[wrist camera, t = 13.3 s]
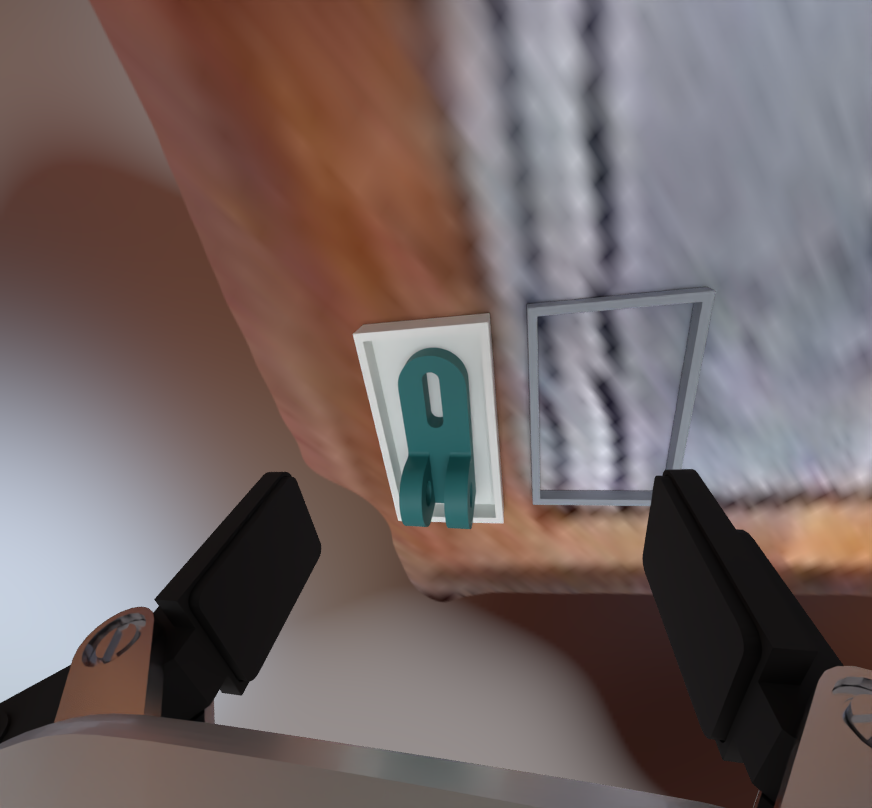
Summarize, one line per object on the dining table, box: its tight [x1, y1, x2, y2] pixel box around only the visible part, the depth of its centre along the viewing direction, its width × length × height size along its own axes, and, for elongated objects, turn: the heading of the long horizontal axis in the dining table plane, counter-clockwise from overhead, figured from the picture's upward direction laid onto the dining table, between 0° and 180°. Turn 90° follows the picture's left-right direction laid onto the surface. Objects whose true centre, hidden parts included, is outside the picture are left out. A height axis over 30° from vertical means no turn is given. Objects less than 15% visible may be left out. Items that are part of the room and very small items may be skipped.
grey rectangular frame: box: [527, 287, 716, 506], centre depth 38 cm, size 15×23×2 cm, turn 8°
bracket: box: [398, 348, 476, 529], centre depth 38 cm, size 18×7×8 cm, turn 6°
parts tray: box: [353, 313, 504, 523], centre depth 41 cm, size 13×24×3 cm, turn 8°
